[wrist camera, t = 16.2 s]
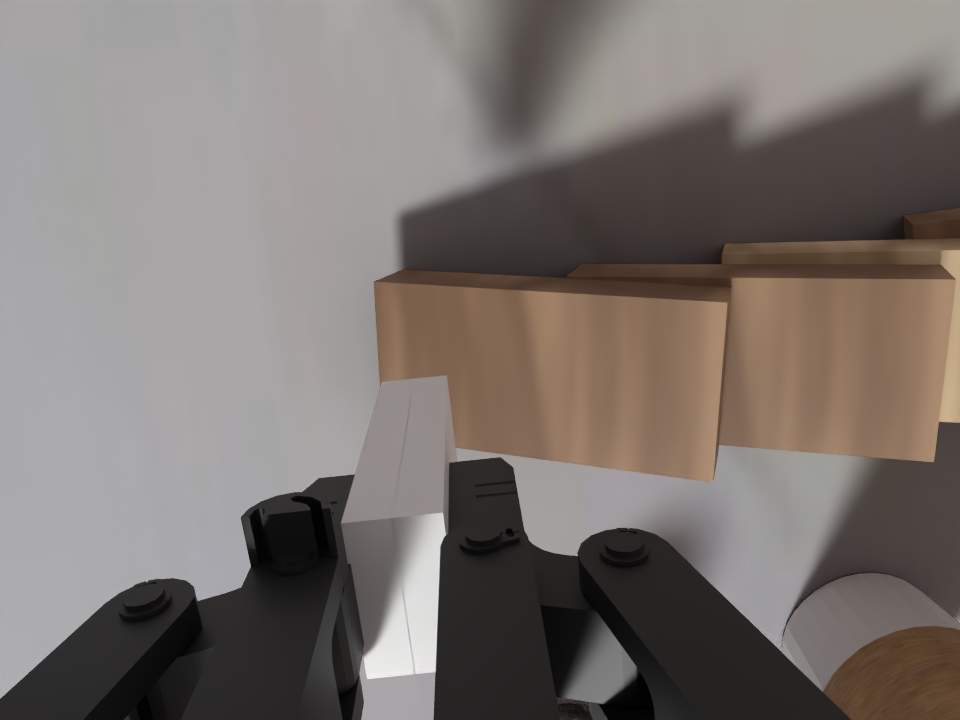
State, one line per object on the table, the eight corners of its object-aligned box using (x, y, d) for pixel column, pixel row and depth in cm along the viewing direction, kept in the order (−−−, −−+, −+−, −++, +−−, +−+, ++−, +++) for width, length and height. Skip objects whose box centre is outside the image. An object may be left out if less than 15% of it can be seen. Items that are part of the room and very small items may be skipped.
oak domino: (719, 411, 24) (1103, 429, 21) (722, 254, 23) (1134, 246, 19) (723, 390, 26) (1077, 403, 23) (725, 243, 25) (1103, 235, 21)
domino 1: (383, 438, 24) (712, 482, 21) (373, 281, 23) (727, 302, 19) (410, 415, 26) (717, 453, 23) (402, 269, 24) (731, 286, 21)
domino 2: (571, 432, 24) (933, 462, 21) (566, 276, 23) (956, 279, 19) (585, 410, 26) (921, 434, 22) (581, 263, 24) (940, 264, 21)
